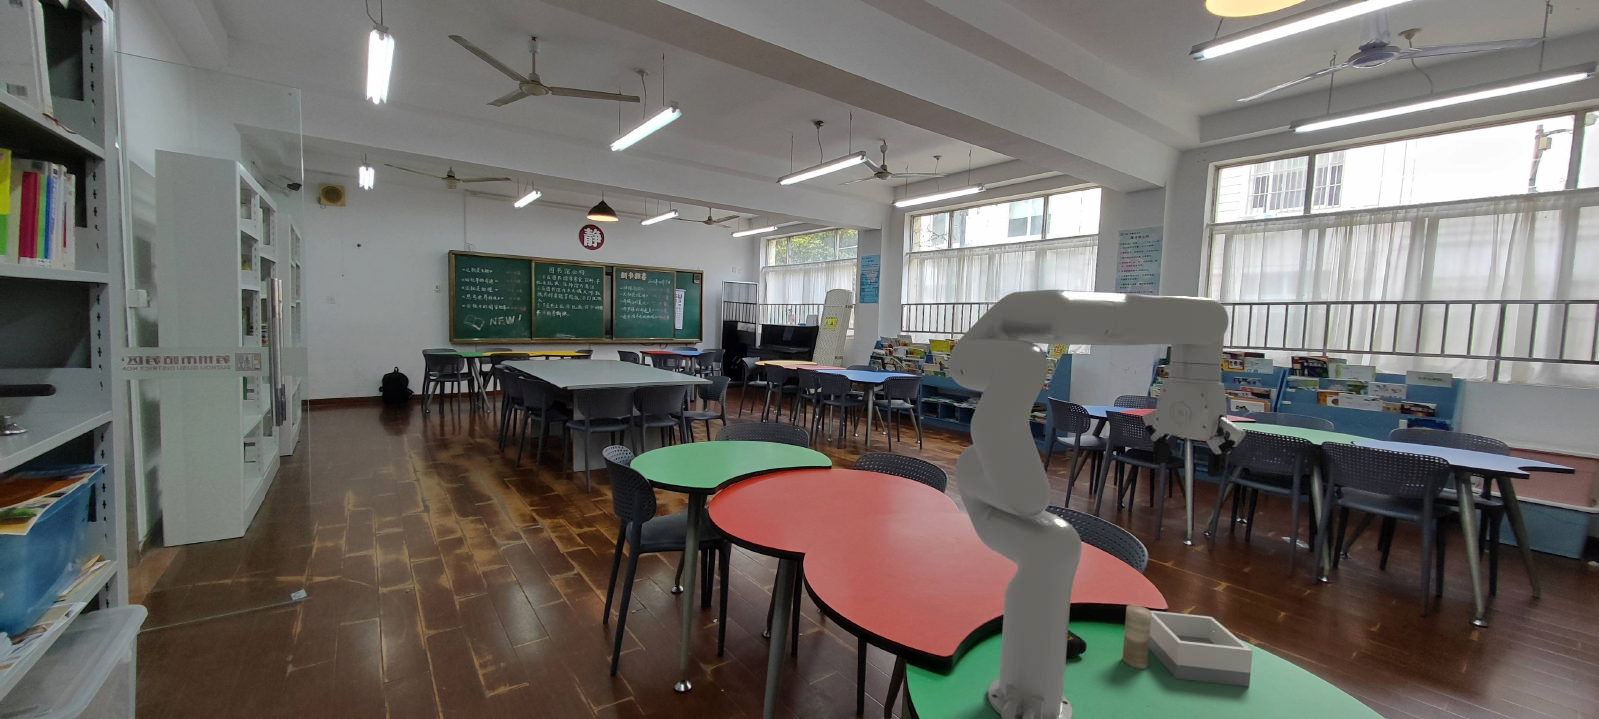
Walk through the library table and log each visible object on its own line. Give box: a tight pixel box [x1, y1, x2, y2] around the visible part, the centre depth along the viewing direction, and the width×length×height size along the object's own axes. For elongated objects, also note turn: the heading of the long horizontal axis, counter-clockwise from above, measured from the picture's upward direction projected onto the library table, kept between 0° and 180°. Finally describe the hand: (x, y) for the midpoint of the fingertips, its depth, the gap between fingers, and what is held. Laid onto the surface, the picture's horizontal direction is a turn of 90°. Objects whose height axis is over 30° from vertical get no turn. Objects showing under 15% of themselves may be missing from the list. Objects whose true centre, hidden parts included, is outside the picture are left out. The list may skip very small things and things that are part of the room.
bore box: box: [1149, 610, 1253, 688], centre depth 106 cm, size 12×12×6 cm
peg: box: [1121, 604, 1152, 670], centre depth 105 cm, size 4×4×10 cm
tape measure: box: [1066, 629, 1088, 658], centre depth 108 cm, size 7×7×4 cm
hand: (1186, 469), depth 102 cm, fingers open, 9 cm apart
